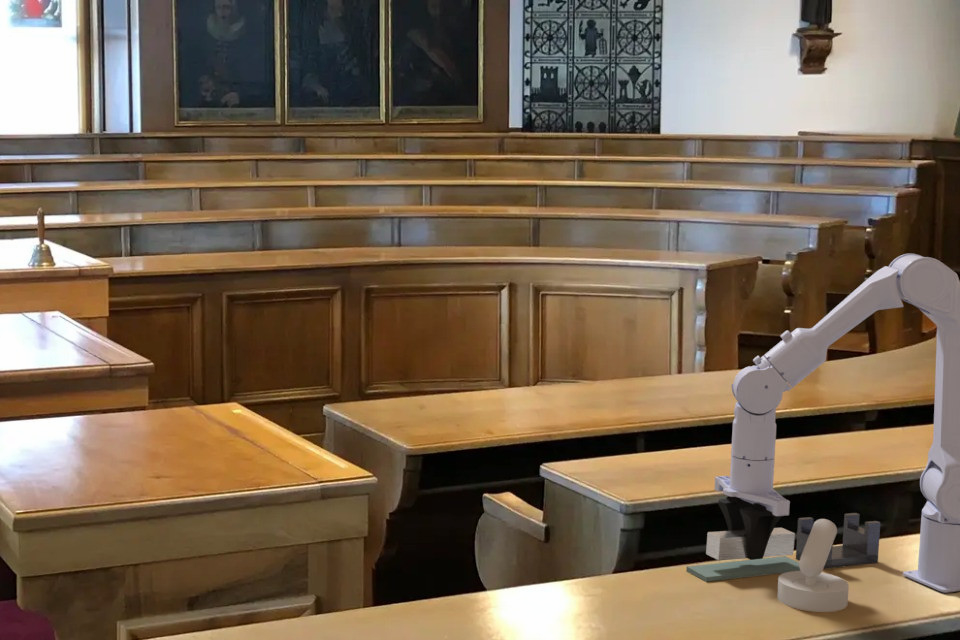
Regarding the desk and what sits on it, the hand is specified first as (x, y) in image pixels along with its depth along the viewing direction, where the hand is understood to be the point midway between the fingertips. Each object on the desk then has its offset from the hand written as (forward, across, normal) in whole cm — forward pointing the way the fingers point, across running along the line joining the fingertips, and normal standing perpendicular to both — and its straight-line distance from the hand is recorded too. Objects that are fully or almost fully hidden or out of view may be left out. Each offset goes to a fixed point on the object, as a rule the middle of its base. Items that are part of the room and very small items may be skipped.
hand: (747, 554), depth 172 cm
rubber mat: (+2, 0, 0) cm, 2 cm away
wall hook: (+2, +12, +2) cm, 13 cm away
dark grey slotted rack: (+2, 0, +15) cm, 15 cm away
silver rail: (0, 0, 0) cm, 0 cm away
